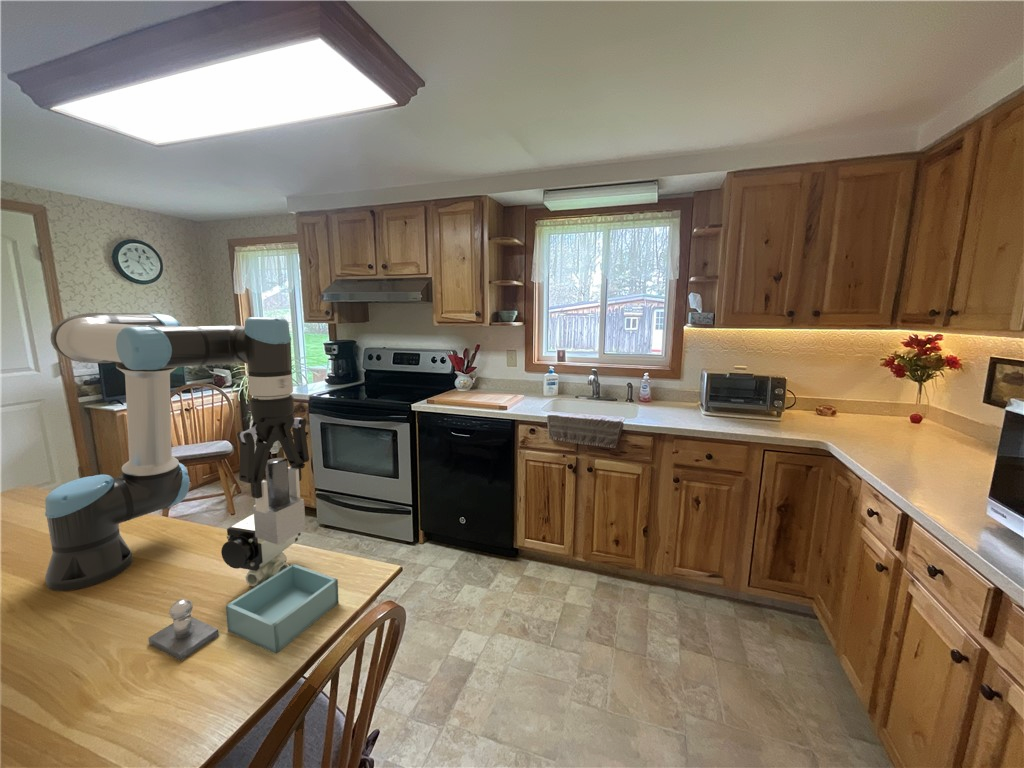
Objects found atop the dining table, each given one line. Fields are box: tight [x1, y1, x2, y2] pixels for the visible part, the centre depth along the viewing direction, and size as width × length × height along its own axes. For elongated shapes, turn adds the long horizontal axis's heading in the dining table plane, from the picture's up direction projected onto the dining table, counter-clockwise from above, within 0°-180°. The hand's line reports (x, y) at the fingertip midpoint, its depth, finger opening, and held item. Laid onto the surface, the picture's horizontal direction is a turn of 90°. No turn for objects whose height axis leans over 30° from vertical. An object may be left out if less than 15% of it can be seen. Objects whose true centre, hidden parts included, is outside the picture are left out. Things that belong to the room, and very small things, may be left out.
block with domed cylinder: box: [252, 457, 307, 545], centre depth 86 cm, size 7×7×16 cm
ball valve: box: [220, 513, 302, 587], centre depth 102 cm, size 18×8×18 cm, turn 168°
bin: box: [225, 563, 340, 655], centre depth 90 cm, size 14×16×6 cm
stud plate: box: [148, 598, 220, 662], centre depth 82 cm, size 10×7×9 cm
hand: (278, 503), depth 86 cm, fingers closed on block with domed cylinder, 7 cm apart
